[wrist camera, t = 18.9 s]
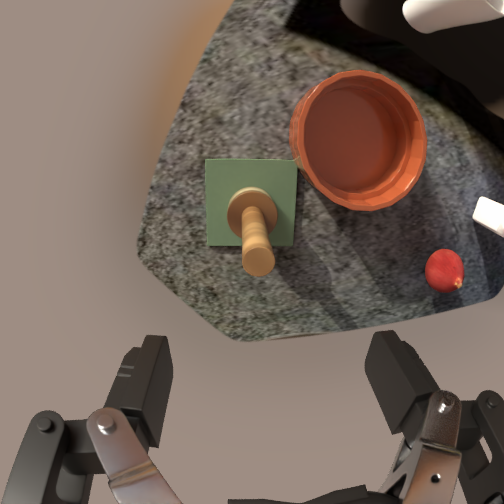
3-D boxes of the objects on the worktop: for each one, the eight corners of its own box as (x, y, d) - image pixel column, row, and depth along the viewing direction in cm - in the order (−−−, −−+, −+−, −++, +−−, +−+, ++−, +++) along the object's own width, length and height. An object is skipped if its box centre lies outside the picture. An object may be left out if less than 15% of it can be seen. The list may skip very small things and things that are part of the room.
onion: (449, 242, 36) (482, 265, 28) (438, 277, 38) (468, 304, 31) (421, 239, 35) (454, 263, 28) (410, 276, 38) (439, 306, 30)
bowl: (289, 72, 27) (299, 60, 22) (403, 91, 28) (428, 87, 23) (285, 196, 33) (294, 208, 28) (396, 202, 33) (418, 214, 28)
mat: (205, 159, 31) (205, 159, 30) (297, 160, 31) (298, 160, 31) (207, 244, 35) (207, 245, 34) (292, 245, 35) (292, 246, 35)
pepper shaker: (491, 203, 33) (533, 223, 25) (483, 226, 35) (523, 249, 26) (478, 194, 33) (522, 213, 24) (470, 218, 34) (512, 241, 26)
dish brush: (228, 186, 32) (219, 224, 19) (275, 187, 32) (300, 226, 19) (227, 231, 34) (220, 294, 21) (273, 232, 34) (293, 295, 21)
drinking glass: (445, 32, 24) (520, 12, 10) (416, 45, 25) (495, 20, 11) (417, -8, 21) (484, -42, 8) (386, 2, 23) (453, -42, 9)
